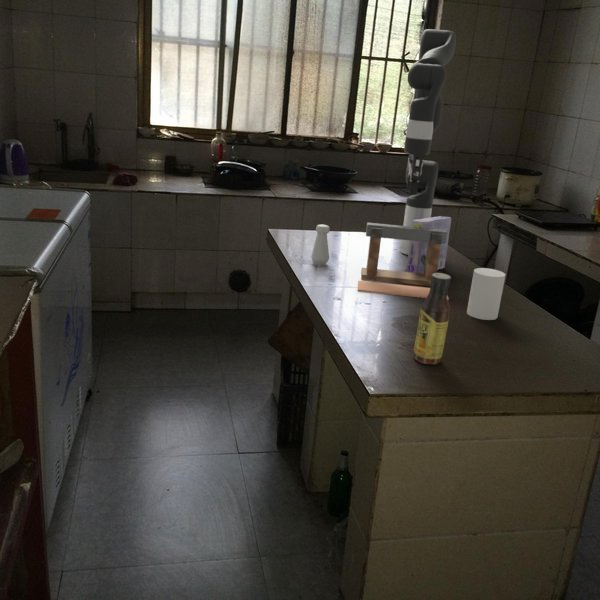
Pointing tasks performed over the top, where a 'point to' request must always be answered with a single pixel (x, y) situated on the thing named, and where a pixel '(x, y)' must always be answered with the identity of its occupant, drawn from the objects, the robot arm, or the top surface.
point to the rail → (406, 232)
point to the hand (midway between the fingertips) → (411, 192)
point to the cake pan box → (420, 248)
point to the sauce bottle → (433, 321)
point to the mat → (393, 289)
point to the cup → (485, 293)
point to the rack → (399, 276)
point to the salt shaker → (321, 246)
